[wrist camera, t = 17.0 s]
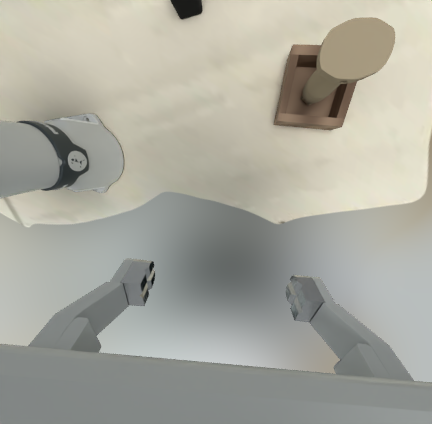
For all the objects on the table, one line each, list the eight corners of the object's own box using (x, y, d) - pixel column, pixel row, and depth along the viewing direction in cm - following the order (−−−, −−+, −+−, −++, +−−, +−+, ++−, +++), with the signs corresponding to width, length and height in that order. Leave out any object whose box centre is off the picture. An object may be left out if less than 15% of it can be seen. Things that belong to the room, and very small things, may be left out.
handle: (294, 78, 31) (328, 18, 17) (333, 79, 30) (404, 16, 16) (288, 109, 32) (314, 78, 18) (325, 111, 31) (381, 80, 17)
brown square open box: (273, 124, 34) (276, 120, 30) (287, 59, 30) (292, 44, 26) (330, 130, 32) (341, 126, 28) (351, 61, 29) (368, 46, 25)
